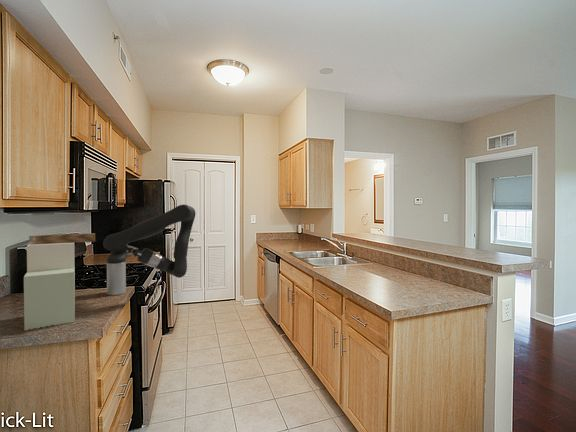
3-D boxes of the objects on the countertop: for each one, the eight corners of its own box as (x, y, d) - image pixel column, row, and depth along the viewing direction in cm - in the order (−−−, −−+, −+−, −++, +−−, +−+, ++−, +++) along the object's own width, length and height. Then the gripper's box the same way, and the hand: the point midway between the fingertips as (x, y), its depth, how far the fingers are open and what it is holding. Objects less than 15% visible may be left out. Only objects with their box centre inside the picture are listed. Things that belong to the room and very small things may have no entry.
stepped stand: (30, 315, 134) (29, 243, 133) (74, 308, 143) (74, 241, 142) (24, 330, 117) (23, 248, 116) (74, 321, 127) (74, 245, 126)
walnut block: (94, 240, 144) (94, 233, 144) (95, 241, 141) (95, 233, 141) (30, 243, 130) (30, 235, 130) (29, 244, 128) (29, 236, 127)
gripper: (150, 249, 163) (120, 236, 155) (156, 253, 152) (124, 238, 143) (143, 262, 161) (112, 249, 153) (148, 266, 150) (115, 253, 141)
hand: (118, 244), depth 148 cm, fingers open, 8 cm apart
